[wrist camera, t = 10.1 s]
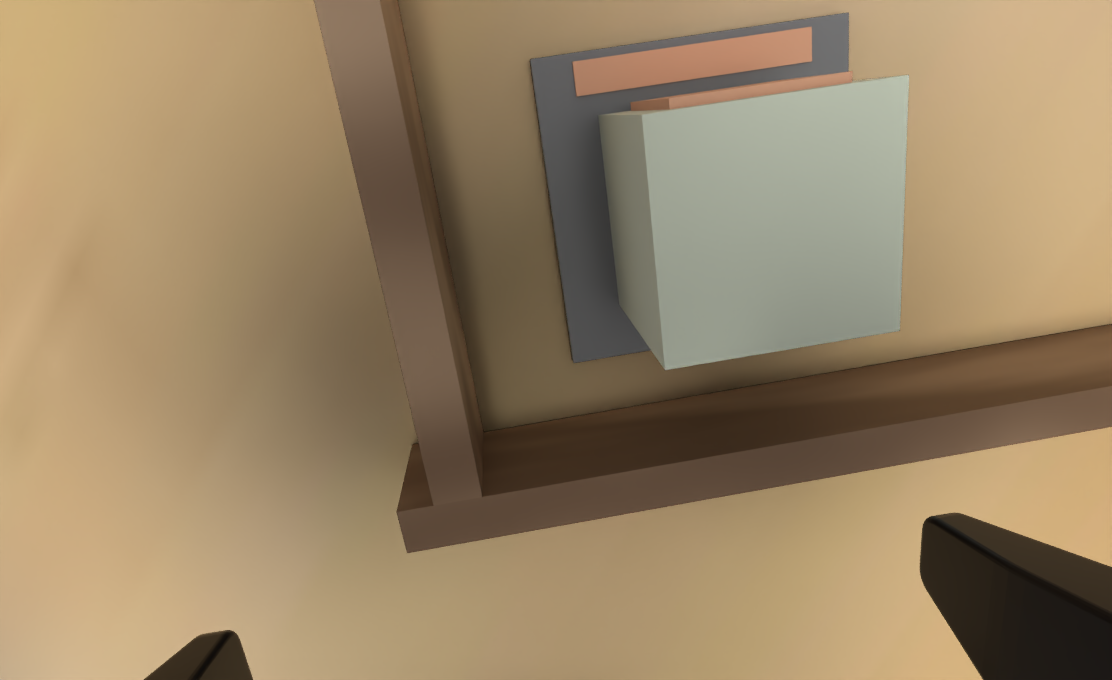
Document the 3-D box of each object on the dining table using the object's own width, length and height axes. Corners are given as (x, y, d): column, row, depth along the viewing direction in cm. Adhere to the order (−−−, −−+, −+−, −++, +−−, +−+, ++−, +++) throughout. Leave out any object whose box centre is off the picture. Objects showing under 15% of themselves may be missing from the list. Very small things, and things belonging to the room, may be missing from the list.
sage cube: (790, 78, 17) (909, 63, 12) (794, 276, 18) (899, 330, 14) (597, 106, 16) (640, 103, 12) (619, 304, 18) (664, 370, 14)
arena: (1118, 358, 21) (1238, 404, 17) (420, 480, 20) (407, 553, 16) (1216, -286, 15) (1416, -396, 12) (266, -164, 14) (199, -248, 11)
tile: (841, 314, 19) (848, 318, 19) (572, 359, 19) (574, 364, 19) (842, 14, 17) (850, 11, 16) (530, 60, 16) (530, 58, 16)
